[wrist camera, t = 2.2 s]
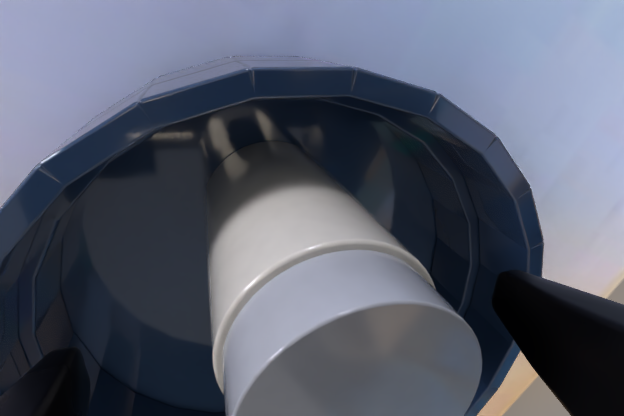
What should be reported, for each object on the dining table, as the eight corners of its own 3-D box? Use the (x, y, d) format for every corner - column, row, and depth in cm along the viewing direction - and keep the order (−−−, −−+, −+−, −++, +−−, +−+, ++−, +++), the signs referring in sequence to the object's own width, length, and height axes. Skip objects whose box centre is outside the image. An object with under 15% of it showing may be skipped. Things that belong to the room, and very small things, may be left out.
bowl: (92, 456, 16) (55, 611, 12) (-51, 54, 10) (-253, 69, 5) (422, 376, 20) (484, 468, 16) (482, 56, 14) (616, 65, 9)
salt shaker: (210, 267, 14) (230, 540, 6) (195, 144, 12) (201, 326, 4) (329, 251, 15) (463, 464, 8) (333, 136, 13) (520, 270, 6)
